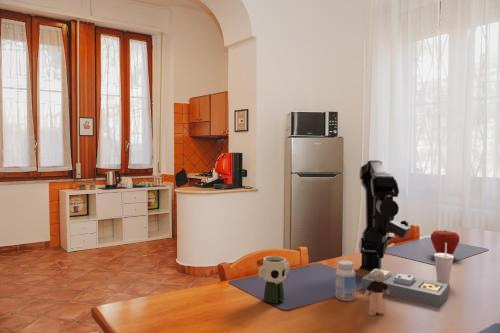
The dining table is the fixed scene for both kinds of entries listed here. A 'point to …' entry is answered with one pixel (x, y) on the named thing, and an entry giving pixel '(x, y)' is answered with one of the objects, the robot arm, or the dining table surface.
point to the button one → (386, 274)
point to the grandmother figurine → (376, 293)
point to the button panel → (412, 290)
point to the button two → (404, 279)
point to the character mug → (274, 277)
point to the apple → (444, 241)
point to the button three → (431, 287)
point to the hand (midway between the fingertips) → (381, 258)
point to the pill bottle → (345, 281)
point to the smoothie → (443, 266)
